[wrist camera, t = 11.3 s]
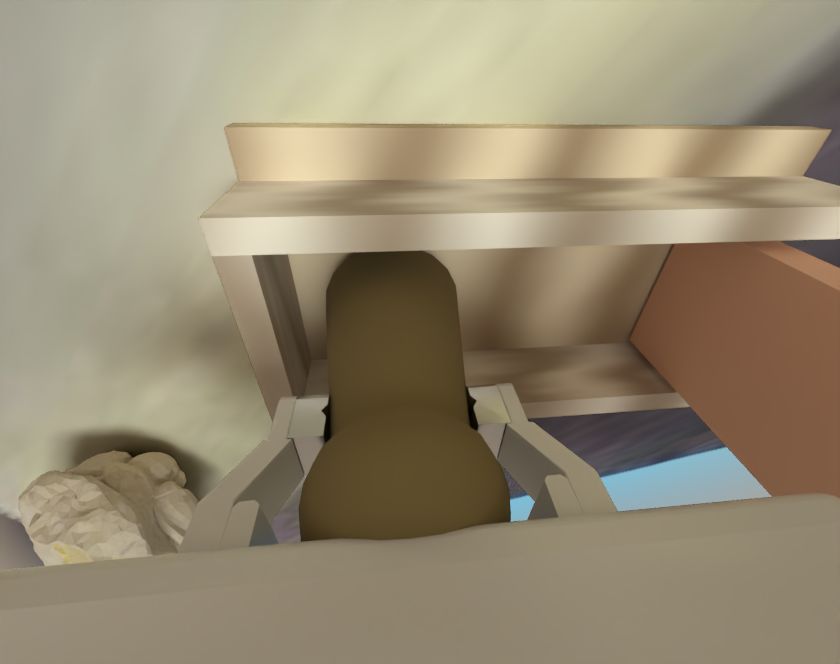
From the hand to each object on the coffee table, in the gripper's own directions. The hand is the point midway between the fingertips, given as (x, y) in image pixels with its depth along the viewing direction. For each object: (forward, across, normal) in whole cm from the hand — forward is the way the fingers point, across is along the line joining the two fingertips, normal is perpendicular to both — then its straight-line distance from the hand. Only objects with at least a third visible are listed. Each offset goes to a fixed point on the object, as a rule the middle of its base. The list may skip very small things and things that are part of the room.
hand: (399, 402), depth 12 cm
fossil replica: (+8, +18, +15) cm, 25 cm away
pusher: (+7, -14, 0) cm, 16 cm away
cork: (+6, 0, 0) cm, 6 cm away
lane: (+8, -6, 0) cm, 10 cm away
